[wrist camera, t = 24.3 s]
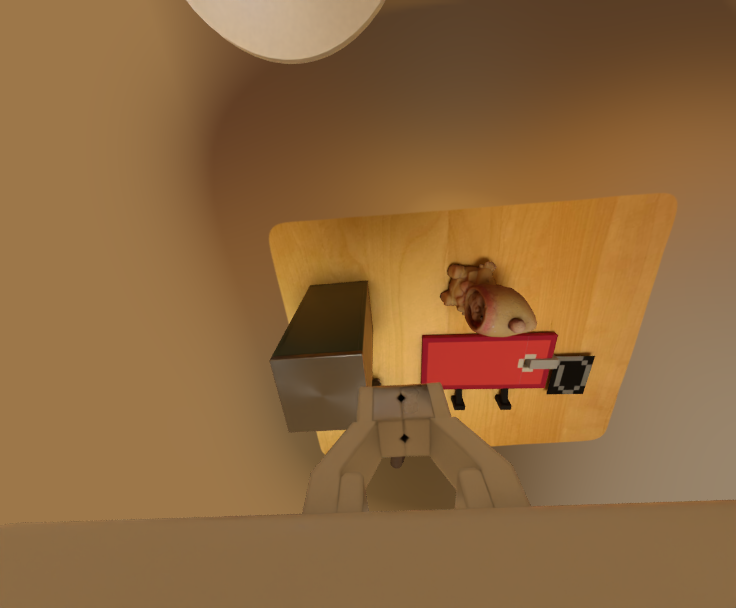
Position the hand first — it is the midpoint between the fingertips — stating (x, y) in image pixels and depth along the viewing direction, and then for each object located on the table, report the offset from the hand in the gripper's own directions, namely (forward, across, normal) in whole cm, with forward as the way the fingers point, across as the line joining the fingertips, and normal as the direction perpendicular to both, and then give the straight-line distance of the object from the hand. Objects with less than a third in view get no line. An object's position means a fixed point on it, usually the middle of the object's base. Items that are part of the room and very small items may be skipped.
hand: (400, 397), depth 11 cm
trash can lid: (+16, +8, +14) cm, 23 cm away
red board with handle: (+35, -20, +29) cm, 50 cm away
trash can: (+36, +8, +15) cm, 39 cm away
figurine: (+36, -14, +12) cm, 40 cm away
